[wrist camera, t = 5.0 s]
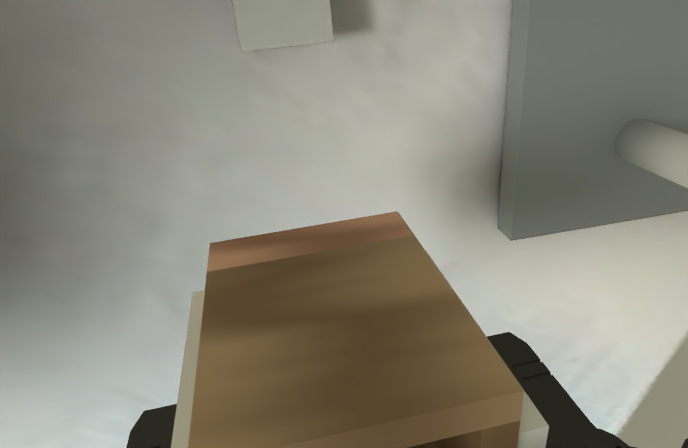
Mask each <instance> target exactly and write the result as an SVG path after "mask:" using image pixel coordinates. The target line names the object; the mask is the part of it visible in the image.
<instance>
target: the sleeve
mask: <svg viewBox="0 0 688 448" xmlns="http://www.w3.org/2000/svg"><path fill="white" fill-rule="evenodd" d="M523 396H524V390H523V389H522V387H521V386H520V384H519V383H518V381H517V380H516V379H515V377H514V376H513V374H512V373H511V372H510V370H509V369H508V367H507V366H506V364H505V363H504V362H503V360H502V359H501V357H500V356H499V355H498V353H497V352H496V350H495V349H494V347H493V346H492V345H491V343H490V342H489V340H488V339H487V338H486V336H485V335H484V333H483V332H482V330H481V329H480V328H479V326H478V325H477V323H476V322H475V321H474V319H473V318H472V316H471V315H470V313H469V312H468V311H467V309H466V308H465V306H464V305H463V304H462V302H461V301H460V299H459V298H458V296H457V295H456V294H455V292H454V291H453V289H452V288H451V287H450V285H449V284H448V282H447V281H446V279H445V278H444V277H443V275H442V274H441V272H440V271H439V270H438V268H437V267H436V265H435V264H434V262H433V261H432V260H431V258H430V257H429V255H428V254H427V253H426V251H425V250H424V248H423V247H422V245H421V244H420V243H419V241H418V240H417V238H416V237H415V236H414V234H413V233H412V231H411V230H410V228H409V227H408V226H407V224H406V223H405V221H404V220H403V219H402V217H401V216H400V214H399V213H398V212H392V213H386V214H380V215H374V216H368V217H362V218H356V219H350V220H345V221H339V222H333V223H327V224H321V225H315V226H309V227H303V228H297V229H291V230H286V231H280V232H274V233H268V234H262V235H256V236H250V237H244V238H238V239H232V240H227V241H221V242H215V243H210V249H209V258H208V268H207V277H206V286H205V295H204V304H203V314H202V323H201V332H200V341H199V351H198V360H197V369H196V378H195V387H194V397H193V406H192V415H191V424H190V434H189V443H188V448H517V444H518V436H519V428H520V420H521V412H522V404H523Z"/></svg>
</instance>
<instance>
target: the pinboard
mask: <svg viewBox="0 0 688 448" xmlns="http://www.w3.org/2000/svg"><path fill="white" fill-rule="evenodd" d="M683 211H688V0H513V1H512V17H511V32H510V47H509V62H508V77H507V92H506V107H505V122H504V138H503V153H502V168H501V183H500V198H499V213H498V229H499V230H500V231H501V232H502V233H503V234H504V235H506V236H507V237H508V238H509V239H510V240H511V241H512V240H518V239H524V238H530V237H536V236H542V235H547V234H553V233H559V232H565V231H571V230H577V229H583V228H589V227H595V226H600V225H606V224H612V223H618V222H624V221H630V220H636V219H642V218H648V217H653V216H659V215H665V214H671V213H677V212H683Z"/></svg>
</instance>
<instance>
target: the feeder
mask: <svg viewBox="0 0 688 448" xmlns="http://www.w3.org/2000/svg"><path fill="white" fill-rule="evenodd" d="M232 4H233V10H234V15H235V21H236V27H237V32H238V38H239V43H240V49H241V52H247V51H256V50H265V49H274V48H282V47H291V46H300V45H309V44H317V43H326V42H334V39H333V29H332V18H331V7H330V0H232Z"/></svg>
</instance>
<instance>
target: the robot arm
mask: <svg viewBox="0 0 688 448" xmlns="http://www.w3.org/2000/svg"><path fill="white" fill-rule="evenodd" d="M425 251H426V250H425ZM426 253H427V252H426ZM427 254H428V253H427ZM429 257H430V256H429ZM430 258H431V257H430ZM431 260H432V259H431ZM432 261H433V260H432ZM434 264H435V263H434ZM436 267H437V266H436ZM437 268H438V267H437ZM438 270H439V269H438ZM439 271H440V270H439ZM441 274H442V273H441ZM442 275H443V274H442ZM443 277H444V276H443ZM444 278H445V277H444ZM446 281H447V280H446ZM448 284H449V283H448ZM449 285H450V284H449ZM450 287H451V286H450ZM451 288H452V287H451ZM453 291H454V290H453ZM455 294H456V293H455ZM204 295H205V291H200V292H194V293H193V296H192V303H191V310H190V317H189V324H188V331H187V338H186V345H185V352H184V359H183V366H182V373H181V380H180V387H179V394H178V401H177V404H175V405H170V406H165V407H160V408H156V409H151V410H146V411H144V412H143V413H142V415H141V416H140V418H139V419H138V421H137V422H136V424H135V425H134V427H133V428H132V430H131V431H130V435H129V440H128V444H127V448H188V443H189V434H190V424H191V415H192V406H193V397H194V387H195V378H196V369H197V360H198V351H199V341H200V332H201V323H202V314H203V304H204ZM456 295H457V294H456ZM458 298H459V297H458ZM460 301H461V300H460ZM461 302H462V301H461ZM462 304H463V303H462ZM463 305H464V304H463ZM465 308H466V307H465ZM467 311H468V310H467ZM468 312H469V311H468ZM470 315H471V314H470ZM472 318H473V317H472ZM474 321H475V320H474ZM475 322H476V321H475ZM477 325H478V324H477ZM479 328H480V327H479ZM482 332H483V331H482ZM484 335H485V334H484ZM486 338H487V339H488V340H489V342H490V343H491V345H492V346H493V347H494V349H495V350H496V352H497V353H498V355H499V356H500V357H501V359H502V360H503V362H504V363H505V364H506V366H507V367H508V369H509V370H510V372H511V373H512V374H513V376H514V377H515V379H516V380H517V381H518V383H519V384H520V386H521V387H522V389H523V390H524V396H523V404H522V412H521V420H520V428H519V436H518V444H517V448H635V447H630V446H628V445H627V444H626V443H624V442H623V441H622V440H620V439H619V438H618V437H617V436H615V435H613V434H611V433H608V432H606V431H604V430H602V429H597V428H596V427H595V426H594V425H593V424H592V423H591V422H590V421H589V420H588V418H587V417H586V416H585V415H584V413H583V412H582V411H581V410H580V408H579V407H578V406H577V405H576V403H575V402H574V401H573V400H572V398H571V397H570V396H569V395H568V393H567V392H566V391H565V390H564V389H563V387H562V386H561V385H560V384H559V382H558V381H557V380H556V379H555V377H554V376H553V375H551V374H550V371H549V370H548V369H547V367H546V366H545V365H544V364H543V362H540V359H539V357H538V356H537V355H536V354H535V352H534V351H533V350H532V349H531V347H530V346H529V345H528V344H527V343H526V342H524V341H523V340H521V339H519V338H518V337H516V336H515V335H513V334H512V333H510V332H507V333H502V334H497V335H493V336H488V337H486ZM682 448H688V439H686V440H685V441H684V443H683V446H682Z"/></svg>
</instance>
